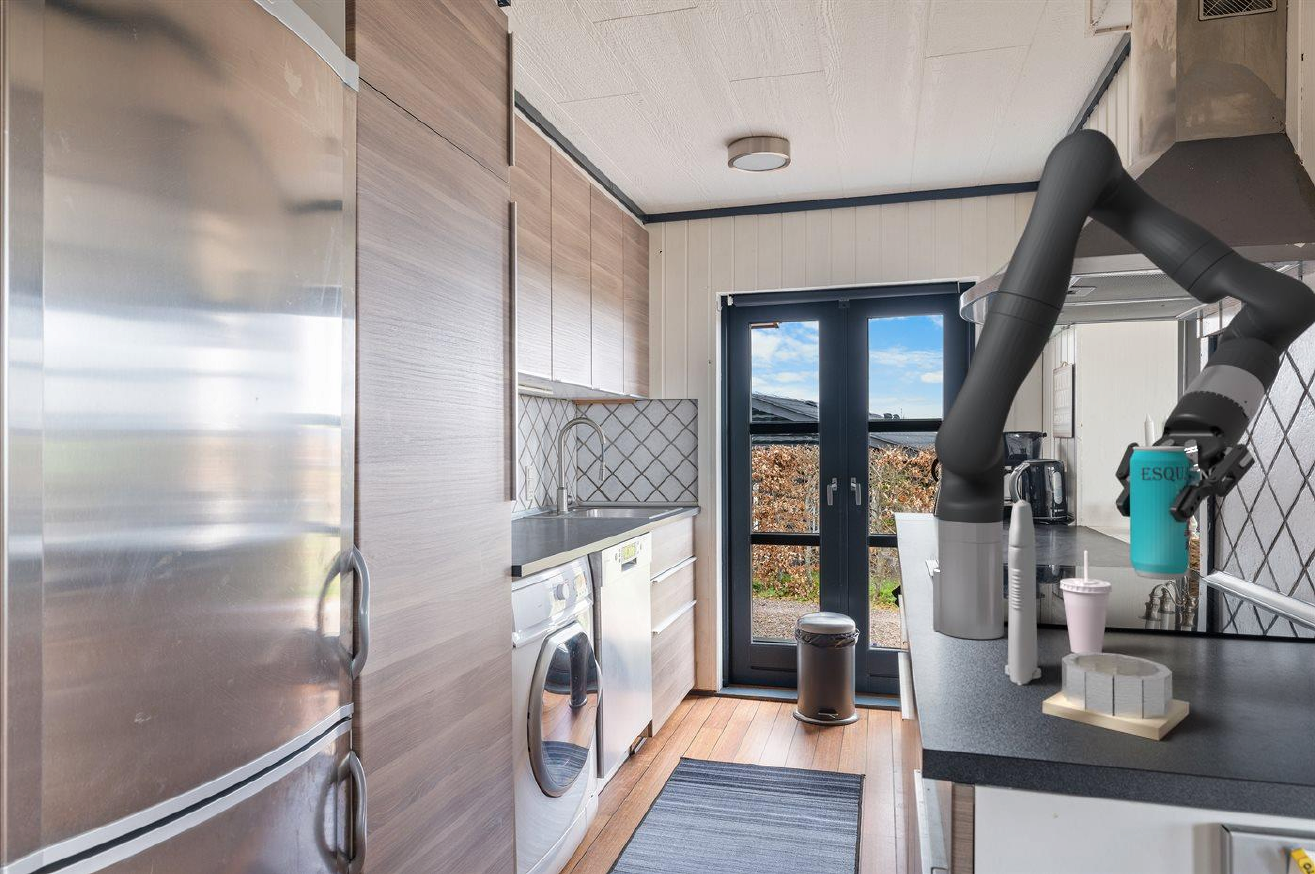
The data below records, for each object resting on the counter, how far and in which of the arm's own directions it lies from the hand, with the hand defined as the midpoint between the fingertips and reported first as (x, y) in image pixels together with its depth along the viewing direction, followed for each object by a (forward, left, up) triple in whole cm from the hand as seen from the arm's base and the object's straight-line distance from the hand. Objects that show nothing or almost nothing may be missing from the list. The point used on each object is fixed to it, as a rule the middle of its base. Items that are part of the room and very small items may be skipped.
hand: (1149, 514), depth 91 cm
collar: (-1, -9, -20) cm, 22 cm away
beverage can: (0, +2, -7) cm, 8 cm away
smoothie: (-12, +15, -21) cm, 29 cm away
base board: (-1, -9, -21) cm, 23 cm away
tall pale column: (-14, -1, -21) cm, 25 cm away
